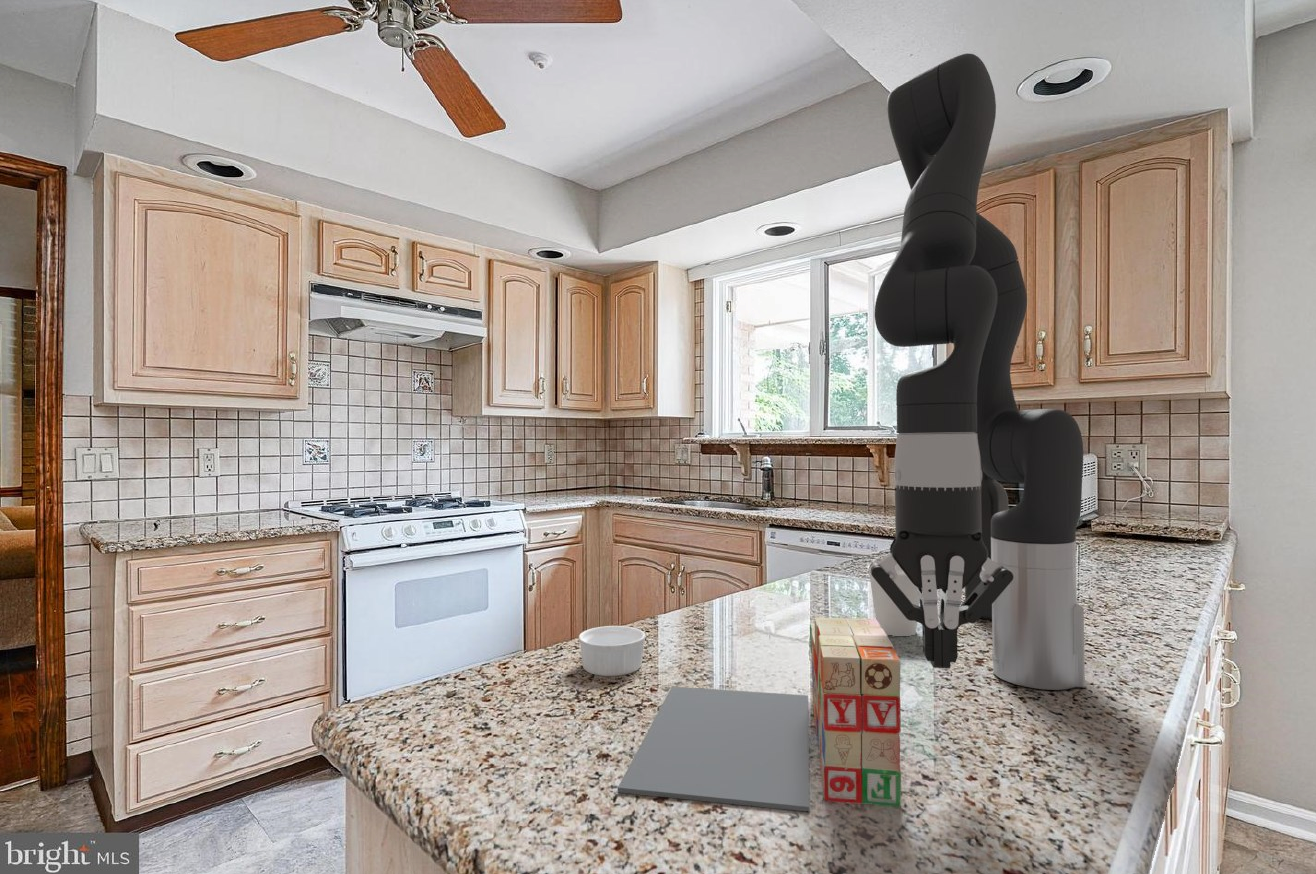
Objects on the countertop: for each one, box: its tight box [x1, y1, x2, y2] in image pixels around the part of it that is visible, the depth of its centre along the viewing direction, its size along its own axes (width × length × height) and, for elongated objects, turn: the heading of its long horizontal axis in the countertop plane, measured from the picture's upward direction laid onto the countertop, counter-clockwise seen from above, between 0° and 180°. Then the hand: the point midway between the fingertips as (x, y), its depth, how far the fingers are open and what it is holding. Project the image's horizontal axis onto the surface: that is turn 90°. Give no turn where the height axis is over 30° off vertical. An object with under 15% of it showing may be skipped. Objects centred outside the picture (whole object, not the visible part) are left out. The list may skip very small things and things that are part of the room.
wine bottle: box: [964, 468, 1009, 621], centre depth 112 cm, size 6×6×30 cm
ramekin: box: [578, 625, 646, 677], centre depth 90 cm, size 9×9×4 cm
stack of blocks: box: [809, 617, 902, 807], centre depth 66 cm, size 21×6×12 cm, turn 170°
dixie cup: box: [866, 564, 920, 637], centre depth 104 cm, size 8×8×10 cm
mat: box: [617, 686, 810, 813], centre depth 67 cm, size 16×24×1 cm, turn 168°
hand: (939, 665), depth 63 cm, fingers closed
